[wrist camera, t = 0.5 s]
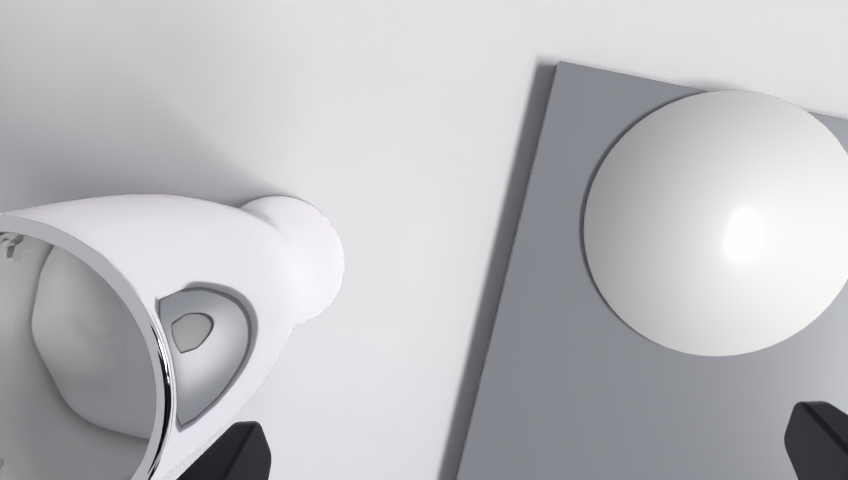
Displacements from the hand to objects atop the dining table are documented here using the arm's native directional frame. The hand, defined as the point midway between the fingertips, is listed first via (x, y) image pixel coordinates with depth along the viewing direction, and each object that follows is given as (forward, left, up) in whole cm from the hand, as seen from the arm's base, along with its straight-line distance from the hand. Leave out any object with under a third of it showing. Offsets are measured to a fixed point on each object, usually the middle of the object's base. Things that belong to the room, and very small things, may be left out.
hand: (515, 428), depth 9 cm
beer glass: (-6, +7, -15) cm, 18 cm away
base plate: (+2, -9, -15) cm, 18 cm away
